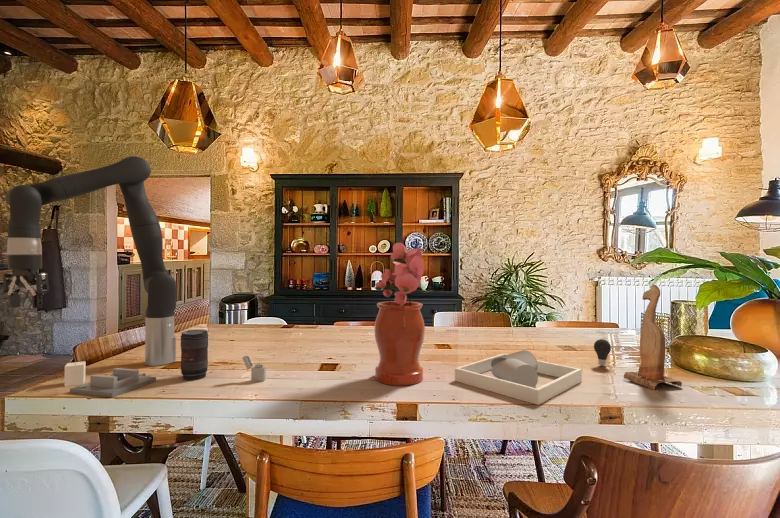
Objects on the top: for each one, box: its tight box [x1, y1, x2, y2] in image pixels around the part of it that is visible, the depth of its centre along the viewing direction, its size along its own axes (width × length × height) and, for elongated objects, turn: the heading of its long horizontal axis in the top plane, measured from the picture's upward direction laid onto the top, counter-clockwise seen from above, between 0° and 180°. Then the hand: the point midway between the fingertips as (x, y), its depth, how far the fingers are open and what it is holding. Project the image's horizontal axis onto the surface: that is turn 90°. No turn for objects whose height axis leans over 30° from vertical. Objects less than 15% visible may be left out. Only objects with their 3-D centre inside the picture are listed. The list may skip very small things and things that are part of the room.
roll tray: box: [454, 353, 583, 406], centre depth 125 cm, size 30×28×4 cm
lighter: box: [242, 354, 267, 383], centre depth 124 cm, size 7×2×8 cm, turn 86°
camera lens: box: [180, 329, 209, 381], centre depth 126 cm, size 8×8×15 cm
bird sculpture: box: [623, 284, 683, 390], centre depth 124 cm, size 11×12×32 cm
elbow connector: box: [490, 349, 539, 388], centre depth 125 cm, size 18×11×20 cm
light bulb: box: [593, 338, 612, 367], centre depth 144 cm, size 6×6×10 cm
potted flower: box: [373, 242, 434, 387], centre depth 128 cm, size 19×25×45 cm
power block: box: [69, 367, 157, 398], centre depth 118 cm, size 18×15×4 cm
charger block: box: [64, 360, 87, 387], centre depth 120 cm, size 4×4×6 cm
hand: (26, 307), depth 115 cm, fingers open, 8 cm apart
